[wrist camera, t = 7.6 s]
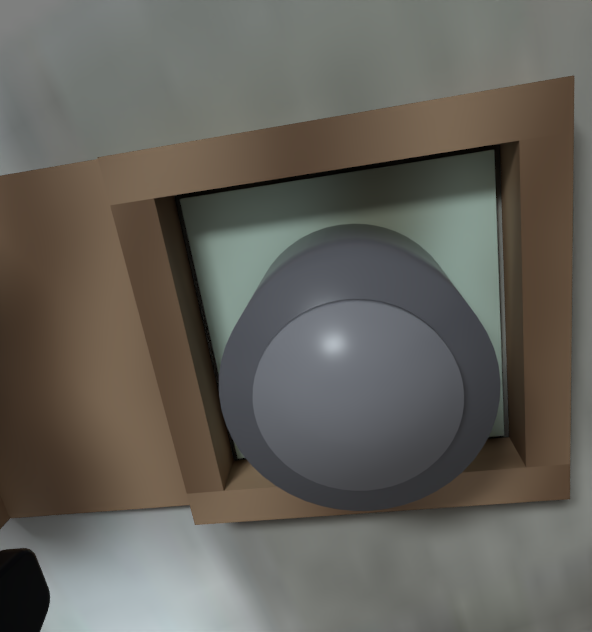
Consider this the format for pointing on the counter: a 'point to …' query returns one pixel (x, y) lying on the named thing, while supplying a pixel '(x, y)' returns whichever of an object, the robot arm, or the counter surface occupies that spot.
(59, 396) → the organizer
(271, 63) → the counter surface
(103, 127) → the counter surface
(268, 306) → the cap
